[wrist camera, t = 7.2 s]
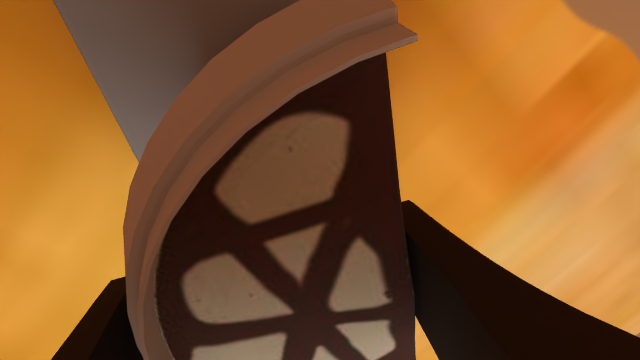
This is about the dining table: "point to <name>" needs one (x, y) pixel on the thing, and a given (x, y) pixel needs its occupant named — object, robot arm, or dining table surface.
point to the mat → (154, 49)
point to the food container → (277, 199)
